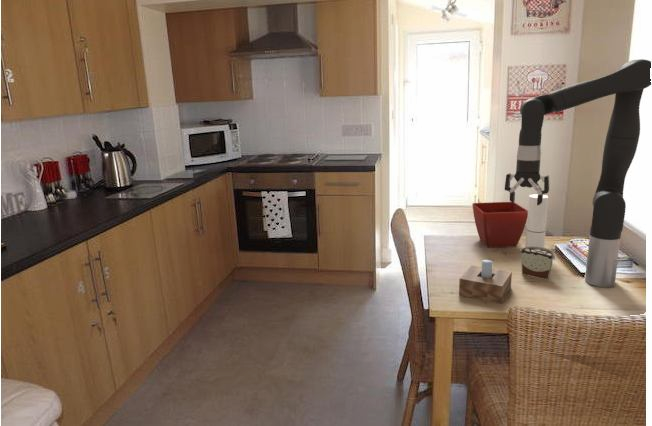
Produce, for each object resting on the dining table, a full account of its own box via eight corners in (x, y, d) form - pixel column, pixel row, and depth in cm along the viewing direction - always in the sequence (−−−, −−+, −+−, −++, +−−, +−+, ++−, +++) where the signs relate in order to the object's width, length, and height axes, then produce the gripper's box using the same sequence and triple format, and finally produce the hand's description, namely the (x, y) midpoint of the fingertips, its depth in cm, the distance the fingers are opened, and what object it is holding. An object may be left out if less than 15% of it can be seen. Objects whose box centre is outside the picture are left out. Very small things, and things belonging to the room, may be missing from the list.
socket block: (510, 287, 166) (511, 271, 165) (501, 303, 155) (502, 286, 154) (470, 280, 174) (471, 265, 172) (458, 294, 163) (459, 278, 161)
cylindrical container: (544, 253, 199) (549, 195, 192) (542, 258, 193) (546, 198, 186) (526, 250, 202) (530, 193, 196) (523, 256, 197) (527, 197, 190)
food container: (558, 276, 175) (560, 250, 173) (552, 281, 171) (554, 254, 168) (524, 268, 183) (526, 244, 181) (518, 273, 179) (519, 248, 177)
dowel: (492, 287, 165) (493, 260, 162) (489, 291, 162) (490, 263, 159) (482, 286, 166) (483, 259, 164) (479, 289, 164) (480, 262, 161)
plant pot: (470, 237, 223) (471, 202, 219) (511, 236, 223) (513, 201, 219) (482, 250, 205) (483, 212, 201) (526, 249, 204) (529, 211, 200)
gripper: (552, 157, 163) (549, 203, 167) (509, 155, 171) (506, 199, 175) (549, 160, 157) (545, 208, 161) (504, 158, 164) (502, 204, 169)
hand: (525, 203), depth 168 cm, fingers open, 8 cm apart
